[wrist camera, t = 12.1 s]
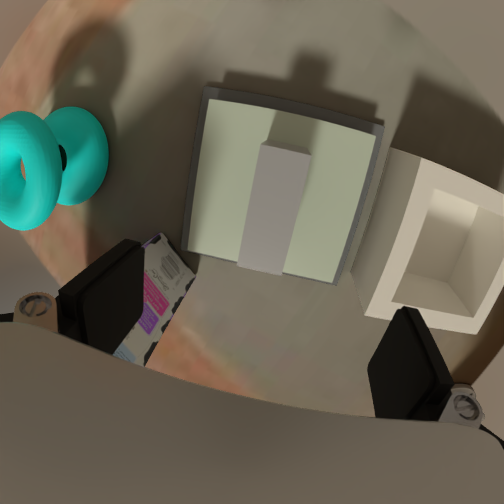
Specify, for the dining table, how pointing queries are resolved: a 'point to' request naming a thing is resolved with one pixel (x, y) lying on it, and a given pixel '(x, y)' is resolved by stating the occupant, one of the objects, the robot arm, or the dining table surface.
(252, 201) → the lid
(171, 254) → the candy box
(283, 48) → the dining table surface
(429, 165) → the storage box
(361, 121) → the rubber mat
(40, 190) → the donuts
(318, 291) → the dining table surface
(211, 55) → the dining table surface
